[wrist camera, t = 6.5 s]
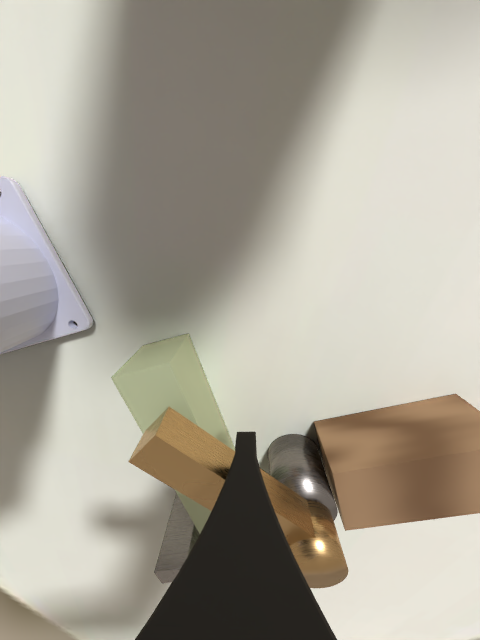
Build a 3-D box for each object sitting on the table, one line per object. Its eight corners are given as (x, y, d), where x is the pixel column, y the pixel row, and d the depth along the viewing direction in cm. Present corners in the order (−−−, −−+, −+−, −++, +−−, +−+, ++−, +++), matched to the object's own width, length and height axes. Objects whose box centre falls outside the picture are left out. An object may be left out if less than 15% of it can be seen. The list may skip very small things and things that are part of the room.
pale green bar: (242, 550, 21) (241, 608, 17) (143, 345, 14) (111, 377, 10) (274, 546, 20) (279, 604, 17) (188, 333, 13) (169, 362, 10)
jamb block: (325, 471, 17) (345, 530, 13) (313, 421, 15) (332, 473, 12) (454, 450, 16) (511, 508, 12) (456, 393, 14) (522, 442, 11)
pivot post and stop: (184, 494, 18) (162, 583, 13) (164, 458, 17) (132, 542, 12) (322, 471, 17) (351, 561, 12) (312, 429, 15) (341, 512, 11)
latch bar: (341, 517, 12) (360, 573, 10) (304, 538, 13) (315, 594, 11) (174, 401, 10) (154, 443, 8) (140, 435, 11) (115, 481, 9)
